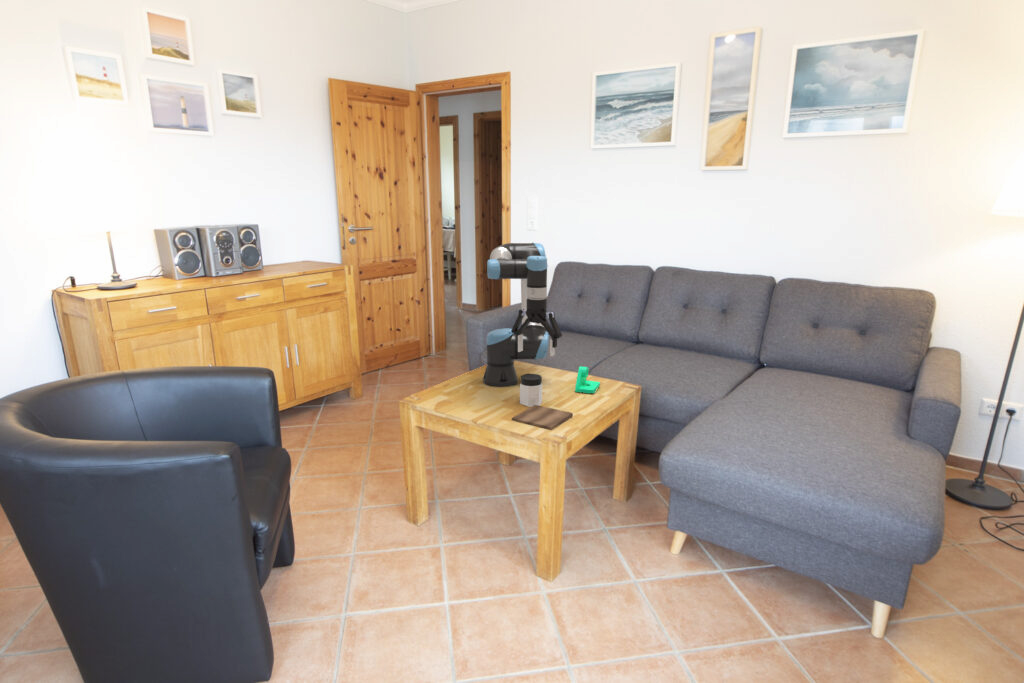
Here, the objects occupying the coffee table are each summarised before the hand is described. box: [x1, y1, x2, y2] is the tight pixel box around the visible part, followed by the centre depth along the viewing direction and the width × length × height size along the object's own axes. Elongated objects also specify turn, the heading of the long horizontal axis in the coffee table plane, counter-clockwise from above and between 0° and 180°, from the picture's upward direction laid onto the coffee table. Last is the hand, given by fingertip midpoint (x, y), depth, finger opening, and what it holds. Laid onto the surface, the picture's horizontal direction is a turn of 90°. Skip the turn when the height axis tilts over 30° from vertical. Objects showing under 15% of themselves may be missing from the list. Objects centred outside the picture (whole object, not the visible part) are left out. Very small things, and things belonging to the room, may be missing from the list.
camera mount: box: [574, 366, 601, 394], centre depth 233 cm, size 12×8×10 cm, turn 157°
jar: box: [519, 373, 543, 408], centre depth 215 cm, size 9×8×12 cm
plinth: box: [511, 405, 574, 431], centre depth 200 cm, size 16×16×2 cm
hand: (536, 353), depth 212 cm, fingers open, 13 cm apart
